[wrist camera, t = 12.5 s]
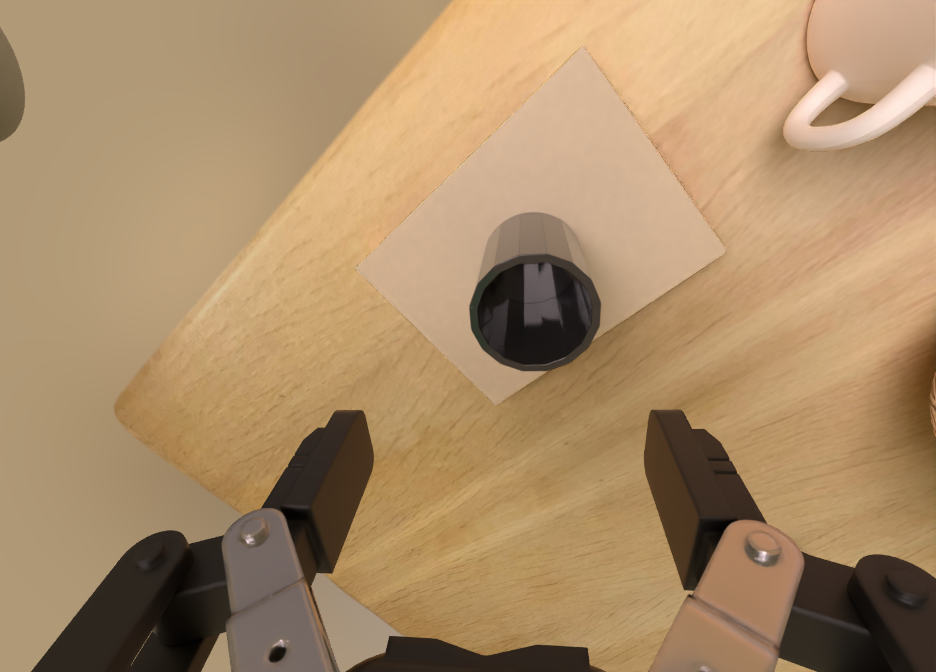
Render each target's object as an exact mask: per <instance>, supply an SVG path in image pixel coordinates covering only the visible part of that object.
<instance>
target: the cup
mask: <svg viewBox="0 0 936 672" xmlns="http://www.w3.org/2000/svg"><path fill="white" fill-rule="evenodd" d="M807 53H808V58H809V62H810V65H811V68H812V70H813V72H814V74H815V75H816V77H817V78H818V80H819V81H818V82H817V83H816V84H815V85H814V86H813V87H812V88H811V89H810V90H809V91H808V92H807V93H806V94H805V95H804V96H803V98H802V99H801V100H800V101H799V102H798V103H797V104H796V106H795V107H794V108H793V109H792V111H791V112H790V114H789V116H788V117H787V119H786V121H785V123H784V127H783V136H784V139H785V141H786V142H787V143H788V144H789V145H790V146H792V147H793V148H796V149H799V150H804V151H812V152H826V151H835V150H841V149H845V148H849V147H853V146H856V145H859V144H862V143H865V142H868V141H870V140H872V139H875V138H877V137H879V136H881V135H883V134H884V133H886V132H888V131H890V130H891V129H893V128H894V127H896V126H898V125H899V124H901V123H902V122H903V121H905V120H906V119H907V118H909V117H910V116H912V115H913V114H914V113H915V112H917V111H918V110H919V109H921V108H922V107H923V106H936V0H815V2H814V5H813V7H812V10H811V14H810V18H809V23H808V28H807ZM839 97H841V98H844V99H847V100H850V101H854V102H859V103H869V104H875V105H874V106H873V107H871V108H870V109H868V110H867V111H866V112H864V113H862V114H861V115H859V116H857V117H855V118H853V119H851V120H848V121H846V122H843V123H840V124H836V125H830V126H822V127H812V126H810V124H811V123H812V121H813V120H814V119H815V118H816V117H817V116H818V115H819V114H820V113H821V112H822V111H823V110H825V109H826V108H827V107H828V106H829V105H830V104H832V103H833V102H834V101H835V100H837V99H838V98H839Z"/></svg>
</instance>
